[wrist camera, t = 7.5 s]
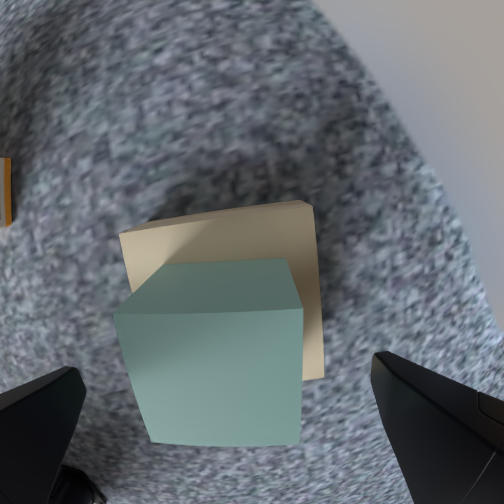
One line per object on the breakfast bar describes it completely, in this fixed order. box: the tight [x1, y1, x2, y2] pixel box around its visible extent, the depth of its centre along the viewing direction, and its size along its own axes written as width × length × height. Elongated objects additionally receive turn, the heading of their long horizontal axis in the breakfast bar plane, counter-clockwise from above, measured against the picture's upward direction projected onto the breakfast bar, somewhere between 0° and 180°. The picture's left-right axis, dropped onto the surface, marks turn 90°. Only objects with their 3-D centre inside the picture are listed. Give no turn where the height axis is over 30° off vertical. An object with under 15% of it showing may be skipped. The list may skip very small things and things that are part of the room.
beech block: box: [119, 200, 324, 381], centre depth 15 cm, size 8×8×4 cm
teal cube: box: [113, 258, 303, 447], centre depth 11 cm, size 5×5×5 cm
